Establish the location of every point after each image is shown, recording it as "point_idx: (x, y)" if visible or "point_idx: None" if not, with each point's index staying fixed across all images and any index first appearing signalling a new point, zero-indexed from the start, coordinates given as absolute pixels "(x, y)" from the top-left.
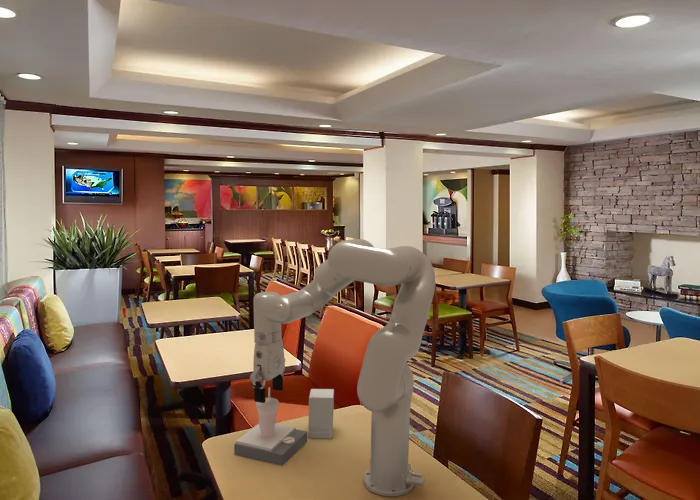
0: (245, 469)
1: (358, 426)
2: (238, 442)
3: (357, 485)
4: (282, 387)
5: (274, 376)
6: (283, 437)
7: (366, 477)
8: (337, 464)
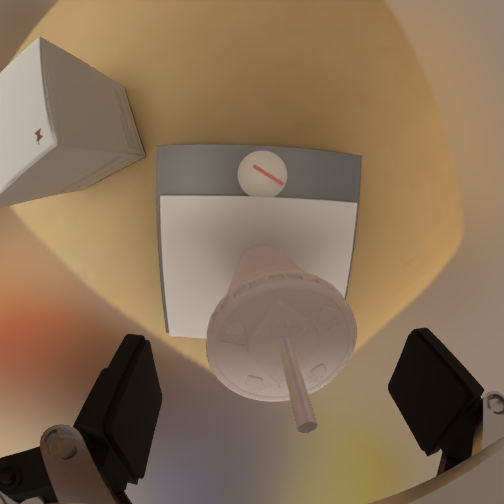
0: (388, 248)
1: None
2: None
3: None
4: (128, 347)
5: (469, 483)
6: (262, 198)
7: None
8: (274, 18)
